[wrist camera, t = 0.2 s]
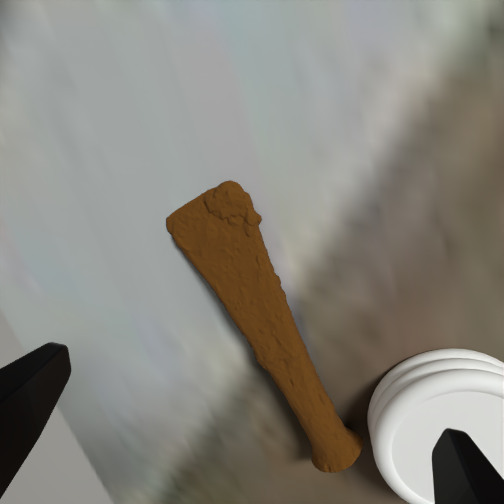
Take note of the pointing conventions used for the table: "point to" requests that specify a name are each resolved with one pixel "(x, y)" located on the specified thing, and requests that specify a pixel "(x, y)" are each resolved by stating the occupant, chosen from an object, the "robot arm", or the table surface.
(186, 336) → the table surface
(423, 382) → the coaster
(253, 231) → the primitive tool
